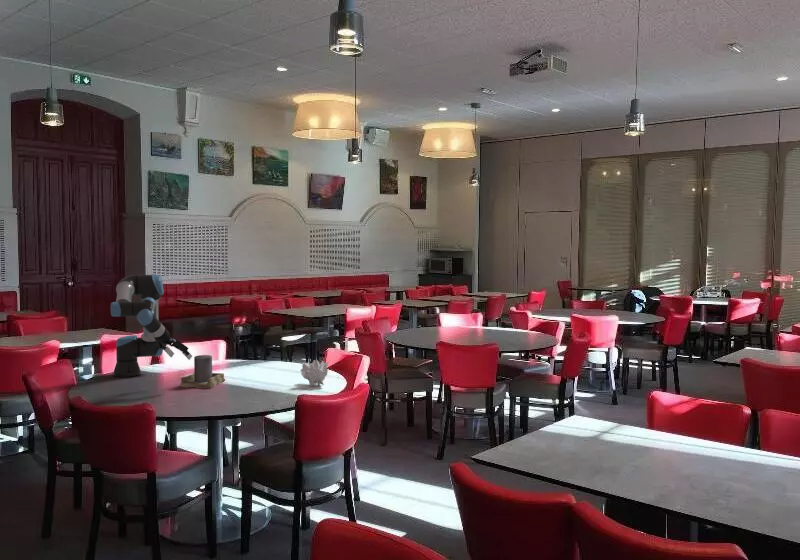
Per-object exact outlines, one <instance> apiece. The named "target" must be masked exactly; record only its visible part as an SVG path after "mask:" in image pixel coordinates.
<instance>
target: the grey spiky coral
mask: <svg viewBox="0 0 800 560" xmlns="http://www.w3.org/2000/svg"><path fill="white" fill-rule="evenodd" d="M301 364H302V366H301V367H302V368H301V369H300V372H301V374H300V375H301V376H302V377H303V378H304V380H307V381H308V383H309V386H310V387H311V386H312V387H313V386H314V384H315V385H316V384H317V386H321V385H322V386H324V385H325V384H324V381H325V379H326V377H327V376H328V371H329V368H327V366H328V364H329V361H328V362H324V360H322V361H321V362H320V361H319V360H318V358H315V359H314V360H313V361H312V363H310V362H301Z"/></svg>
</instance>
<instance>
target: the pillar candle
mask: <svg viewBox="0 0 800 560" xmlns="http://www.w3.org/2000/svg"><path fill="white" fill-rule="evenodd" d="M193 358H194V361H193V364H194V370H193V371H194V381H195V382H208V379H209V378H212V373H213V356H212V355H209V354H201V355H195V356H194V357H193Z"/></svg>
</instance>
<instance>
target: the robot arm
mask: <svg viewBox="0 0 800 560" xmlns="http://www.w3.org/2000/svg"><path fill="white" fill-rule="evenodd" d="M115 292H116V299H115V301H113V302H111V303H110V315H111V317H118V318H119V317H136V320H137V321H138V322H139V324H140V325H141V326H142V329H143V333H142V334H141V336H140V337H138V335H137V334H135V335H125V336H122V337H118V338H117V339H116V343H115V348H116V353H115V354H116V363H115V366H114V369H113V373H112V374H113V377H115V378H131V377H130V376H132V377H136V375H137V376H139V375H141V374H142V373H141V368H140V365H139V362H138V358H144V357H154V358H155V357H160V356H162V354H163V353H164V352H165V353H166V354H167V355H168V356H169V357H170V358H173V357H174V355H175V352H174V351H173V350H172V349H171V348H170V347H174V348H175V349H177V350H179V351H180V352H181V353H182V354H183V356H185V358H186V359H187V361H188V360H189V361H190V360H191V359H192V357H193V355H192V354H191V352H190V351H189V347H188V346H186V345H185V344H184V343H182V342H181V341H180V340H178V339H177V338H176V337H173V338H172V337H171V336H170V332H169V330H168V329H167V328H166V327H165V326H164V325H163V324H162V323H161V322H160V321H159V320H160V319H159V300H160V299H161V298H162V296H163V295H164V293H165V291H164V283H163V279H162V276H161V275H160V274H131V275H128V276H125V277H123V278H121V279H120V280H119V281H118V282H117V284H116V287H115ZM133 296H139V298H140V299H141V301H132V299H133V298H132V297H133ZM168 345H169V346H170V347H169V346H168ZM163 351H164V352H163Z"/></svg>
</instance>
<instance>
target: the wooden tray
mask: <svg viewBox="0 0 800 560" xmlns="http://www.w3.org/2000/svg"><path fill="white" fill-rule="evenodd" d="M180 380H181V381H180V386H179V387H180V388H189V387H196V388H195V389H213V388H215V387H217V386H216V385H218V384H220V383H222V382H224V381H225V382H226V378H225V373H220V372H218V373H216V372H212V378H209V379H208V382H195V381H194V373H191V374H189V375H185V376H183V377H181V378H180ZM225 382H224V383H225ZM222 384H223V383H222ZM220 385H221V384H220ZM214 386H215V387H214ZM218 386H219V385H218ZM212 387H213V388H212Z"/></svg>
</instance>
